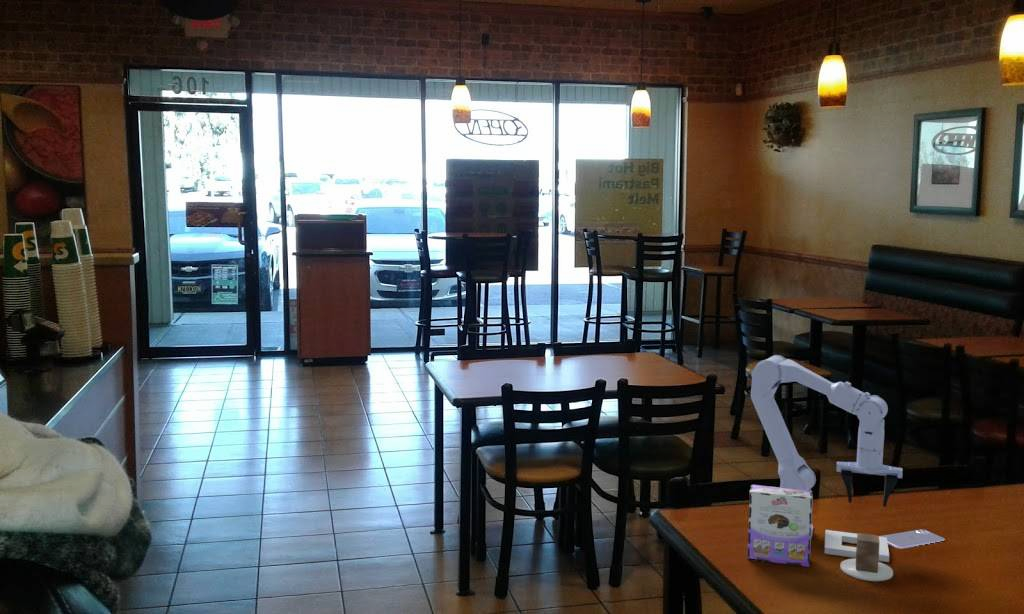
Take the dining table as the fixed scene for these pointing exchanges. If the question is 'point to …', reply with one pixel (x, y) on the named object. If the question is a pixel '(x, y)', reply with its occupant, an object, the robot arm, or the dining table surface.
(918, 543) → the mobile phone
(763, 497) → the candy box
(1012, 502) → the dining table surface
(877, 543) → the walnut block
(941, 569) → the dining table surface
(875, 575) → the ceramic coaster
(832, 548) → the pocket plate
